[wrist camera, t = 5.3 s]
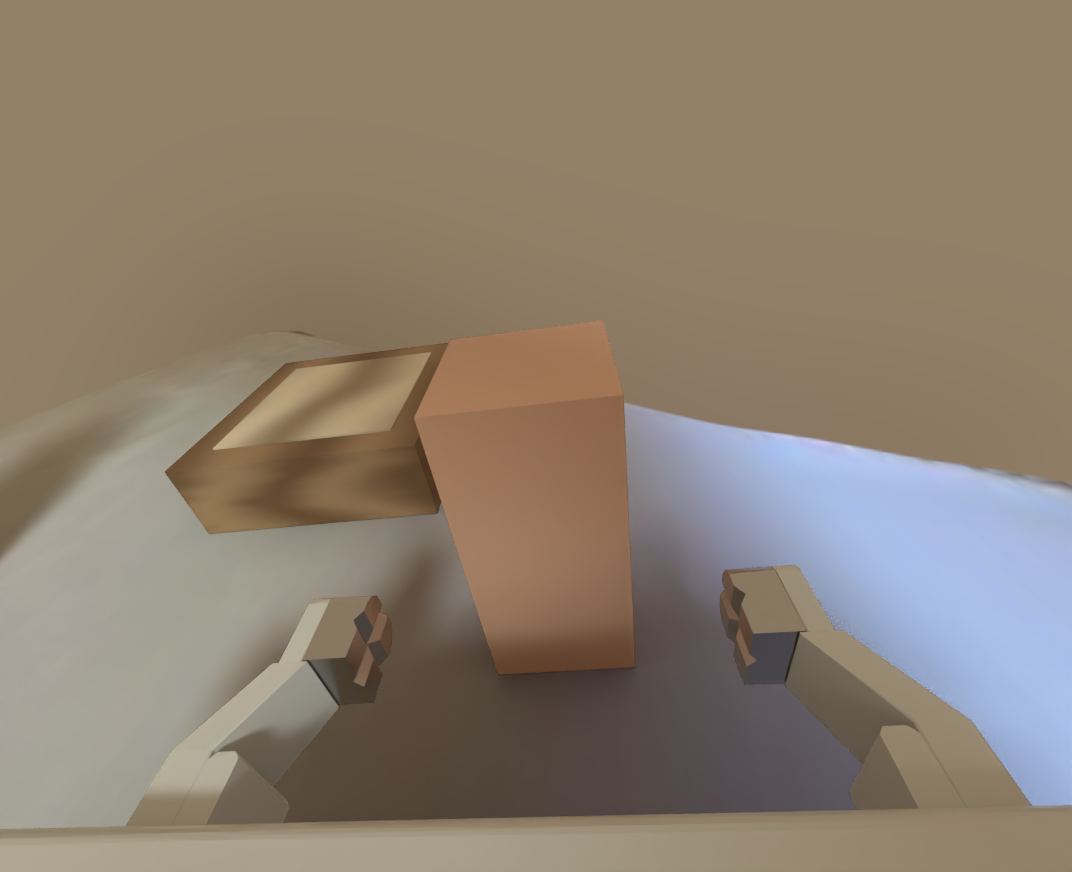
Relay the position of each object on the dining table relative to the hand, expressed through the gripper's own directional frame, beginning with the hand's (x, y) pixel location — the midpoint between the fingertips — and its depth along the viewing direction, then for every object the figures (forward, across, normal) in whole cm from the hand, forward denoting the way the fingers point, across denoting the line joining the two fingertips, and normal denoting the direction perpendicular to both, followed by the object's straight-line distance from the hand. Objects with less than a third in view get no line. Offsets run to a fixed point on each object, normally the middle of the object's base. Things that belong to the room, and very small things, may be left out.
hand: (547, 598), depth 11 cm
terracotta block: (+4, 0, +6) cm, 7 cm away
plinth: (+16, +12, +6) cm, 21 cm away
